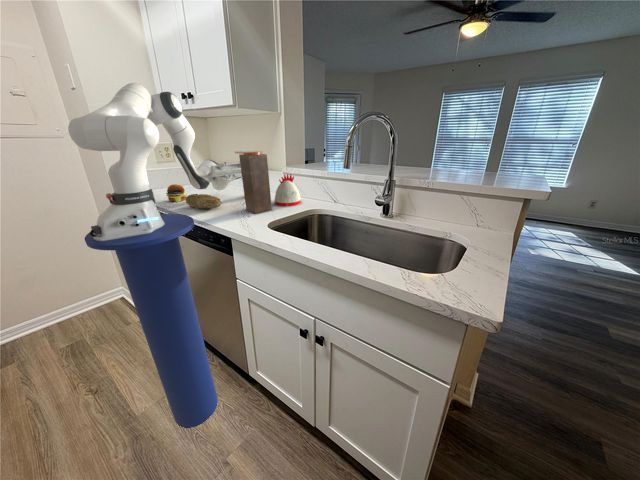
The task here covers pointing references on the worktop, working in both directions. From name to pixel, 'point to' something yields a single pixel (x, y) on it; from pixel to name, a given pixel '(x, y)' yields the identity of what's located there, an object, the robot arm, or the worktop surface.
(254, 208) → the tall brown brick
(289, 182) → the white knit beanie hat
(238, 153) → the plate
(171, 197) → the cheeseburger
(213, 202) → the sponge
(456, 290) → the worktop surface
